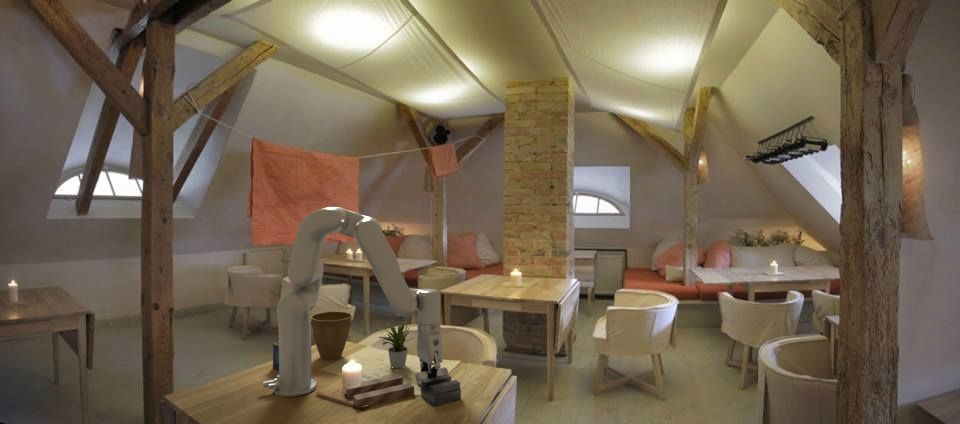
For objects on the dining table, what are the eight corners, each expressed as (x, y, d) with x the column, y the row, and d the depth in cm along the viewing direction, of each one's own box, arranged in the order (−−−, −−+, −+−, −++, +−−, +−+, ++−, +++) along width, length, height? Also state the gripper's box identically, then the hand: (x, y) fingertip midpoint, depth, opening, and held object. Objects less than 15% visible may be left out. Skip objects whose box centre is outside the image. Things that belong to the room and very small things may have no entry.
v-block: (434, 406, 135) (434, 389, 134) (420, 395, 142) (420, 379, 142) (460, 399, 140) (460, 382, 139) (446, 389, 147) (446, 373, 147)
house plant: (386, 357, 176) (386, 314, 176) (421, 359, 174) (421, 316, 174) (372, 370, 162) (372, 324, 162) (410, 373, 160) (410, 326, 160)
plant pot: (329, 366, 166) (329, 322, 165) (302, 359, 173) (302, 317, 173) (360, 355, 179) (360, 314, 178) (333, 348, 186) (333, 309, 186)
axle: (421, 383, 148) (418, 371, 150) (417, 386, 151) (415, 374, 152) (449, 377, 153) (446, 365, 155) (445, 381, 156) (442, 369, 157)
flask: (296, 370, 162) (296, 340, 162) (290, 373, 160) (290, 342, 159) (276, 366, 166) (276, 337, 166) (270, 369, 163) (269, 339, 163)
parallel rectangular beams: (357, 408, 133) (357, 399, 133) (344, 394, 143) (344, 385, 143) (414, 394, 143) (414, 386, 142) (398, 381, 153) (398, 374, 152)
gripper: (451, 331, 147) (451, 388, 147) (427, 319, 161) (427, 371, 161) (430, 335, 142) (430, 393, 143) (407, 322, 156) (407, 376, 157)
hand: (428, 381), depth 152 cm, fingers closed on axle, 4 cm apart
